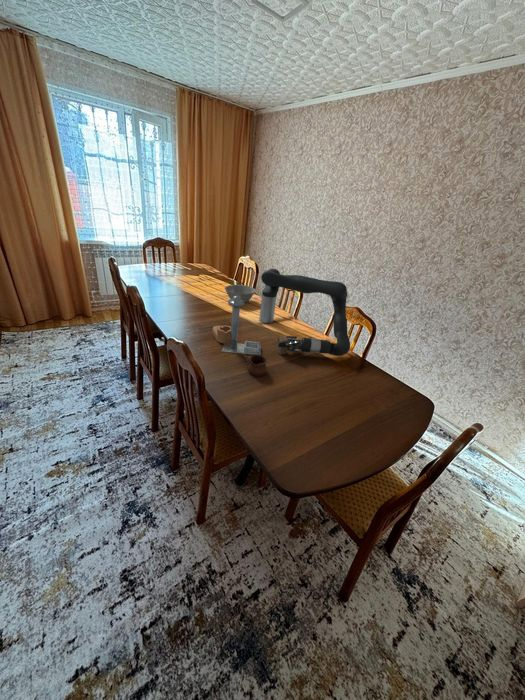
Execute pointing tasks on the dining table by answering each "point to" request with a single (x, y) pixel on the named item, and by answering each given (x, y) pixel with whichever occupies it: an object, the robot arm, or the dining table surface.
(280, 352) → the wooden block
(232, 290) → the ceramic bowl
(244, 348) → the metal post stand
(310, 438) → the dining table surface
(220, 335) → the bracket
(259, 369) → the ceramic pot
